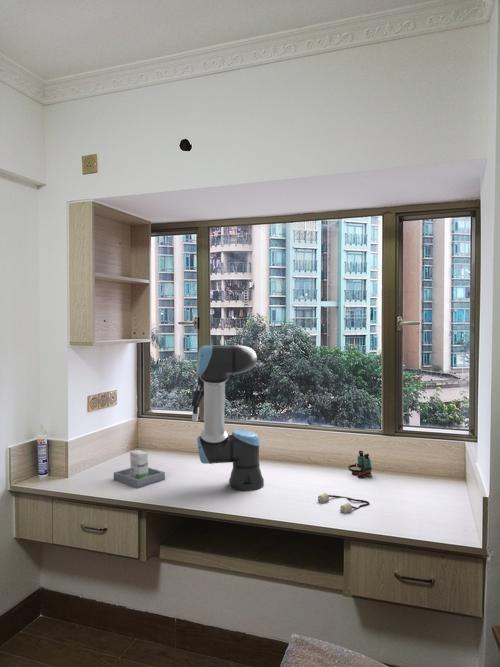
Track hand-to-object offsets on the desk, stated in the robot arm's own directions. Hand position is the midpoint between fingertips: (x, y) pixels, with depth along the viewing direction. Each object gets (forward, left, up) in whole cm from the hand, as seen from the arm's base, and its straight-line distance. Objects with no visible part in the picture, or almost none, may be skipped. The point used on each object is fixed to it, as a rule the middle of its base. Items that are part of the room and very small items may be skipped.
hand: (200, 420), depth 255 cm
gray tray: (+8, +31, -23) cm, 40 cm away
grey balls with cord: (-79, -1, -24) cm, 83 cm away
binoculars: (-67, -36, -23) cm, 80 cm away
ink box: (+8, +31, -22) cm, 39 cm away
